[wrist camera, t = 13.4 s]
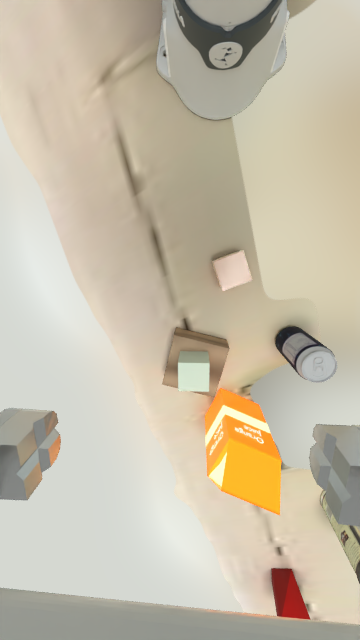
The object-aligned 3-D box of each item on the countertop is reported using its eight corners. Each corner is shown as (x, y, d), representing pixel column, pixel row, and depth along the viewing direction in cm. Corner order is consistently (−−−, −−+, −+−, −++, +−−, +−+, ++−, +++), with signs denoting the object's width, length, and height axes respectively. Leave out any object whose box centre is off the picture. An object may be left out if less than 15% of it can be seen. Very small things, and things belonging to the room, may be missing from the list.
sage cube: (180, 351, 44) (177, 362, 39) (208, 351, 44) (209, 363, 39) (180, 376, 45) (178, 391, 40) (207, 377, 45) (209, 391, 40)
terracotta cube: (211, 260, 44) (213, 261, 40) (238, 250, 44) (243, 250, 39) (220, 287, 45) (222, 290, 41) (246, 277, 45) (252, 280, 40)
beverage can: (274, 354, 48) (299, 386, 36) (273, 326, 46) (298, 350, 35) (305, 352, 47) (339, 383, 36) (304, 323, 46) (340, 346, 34)
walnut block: (176, 326, 48) (173, 335, 43) (226, 339, 48) (229, 348, 43) (165, 372, 51) (162, 384, 46) (212, 383, 51) (214, 397, 46)
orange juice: (220, 387, 50) (234, 469, 31) (259, 404, 51) (296, 495, 32) (204, 417, 53) (207, 511, 33) (241, 433, 53) (266, 535, 34)
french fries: (268, 584, 64) (288, 681, 49) (267, 561, 62) (288, 655, 47) (303, 585, 63) (335, 683, 48) (304, 561, 61) (336, 657, 46)
